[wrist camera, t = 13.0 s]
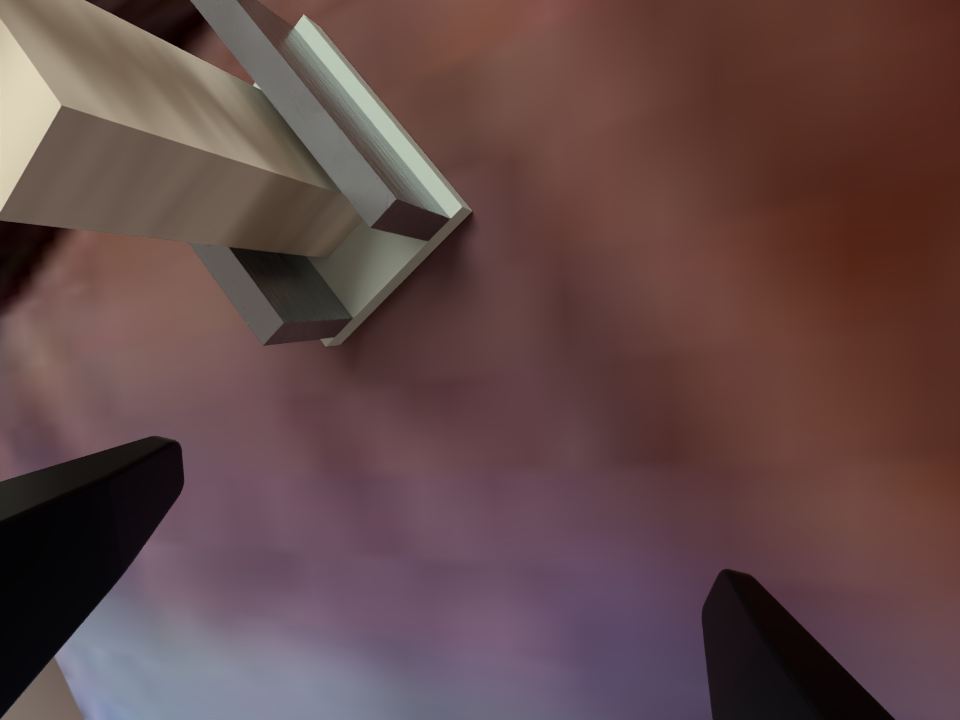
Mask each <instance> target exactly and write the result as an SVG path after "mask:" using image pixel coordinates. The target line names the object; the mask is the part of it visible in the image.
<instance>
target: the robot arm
mask: <svg viewBox="0 0 960 720" xmlns="http://www.w3.org/2000/svg"><path fill="white" fill-rule="evenodd" d="M183 485H184V470H183V459H182V449H181V445H180V444H179V442H177V441H175V440H172V439H168V438H163V437H159V436H151V437H147V438H144V439H141V440H137V441H134V442H131V443H127V444H124V445H121V446H117V447H114V448H111V449H108V450H104V451H101V452H98V453H94V454H91V455H88V456H84V457H81V458H78V459H74V460H71V461H68V462H64V463H61V464H58V465H54V466H51V467H48V468H44V469H41V470H38V471H35V472H31V473H28V474H25V475H21V476H18V477H15V478H11V479H8V480H5V481H1V482H0V719H1V718H2V717H3V715H4V714H5V713H6V712H7V711H8V710H9V708H10V707H11V706H12V705H13V704H14V703H15V701H16V700H17V699H18V698H19V697H20V696H21V694H22V693H23V692H24V691H25V690H26V689H27V687H28V686H29V685H30V684H31V683H32V681H33V680H34V679H35V678H36V677H37V675H38V674H39V673H40V672H41V671H42V670H43V669H44V667H45V666H46V665H47V664H48V663H49V662H50V660H51V659H52V658H53V657H54V656H55V654H56V653H57V652H58V651H59V650H60V649H61V647H62V646H63V645H64V644H65V643H66V642H67V640H68V639H69V638H70V637H71V636H72V635H73V633H74V632H75V631H76V630H77V629H78V627H79V626H80V625H81V624H82V623H83V622H84V620H85V619H86V618H87V617H88V616H89V615H90V613H91V612H92V611H93V610H94V609H95V608H96V606H97V605H98V604H99V603H100V602H101V600H102V599H103V598H104V597H105V596H106V595H107V593H108V592H109V591H110V590H111V589H112V588H113V586H114V585H115V584H116V583H117V581H118V580H119V579H120V578H121V577H122V575H123V574H124V573H125V571H126V570H127V569H128V567H129V566H130V565H131V563H132V562H133V561H134V559H135V558H136V556H137V555H138V554H139V552H140V551H141V549H142V548H143V546H144V545H145V544H146V542H147V541H148V539H149V538H150V536H151V535H152V534H153V532H154V531H155V529H156V528H157V527H158V525H159V524H160V522H161V521H162V519H163V518H164V517H165V515H166V514H167V512H168V511H169V509H170V508H171V507H172V505H173V504H174V502H175V501H176V499H177V498H178V497H179V495H180V493H181V491H182V489H183ZM702 628H703V637H704V646H705V656H706V665H707V674H708V684H709V693H710V702H711V710H712V718H713V720H895V719H894V718H893V717H892V716H891V715H890V714H889V713H888V712H887V711H886V710H885V709H884V708H883V707H882V706H881V705H880V704H879V703H878V702H877V701H876V700H875V699H874V698H873V697H872V696H871V695H870V694H869V693H868V692H867V691H866V690H865V689H864V688H863V687H862V686H861V685H860V684H859V683H858V682H857V681H856V680H855V679H854V678H853V677H852V676H851V675H850V674H849V673H848V672H847V671H846V670H845V669H844V668H843V667H842V666H841V665H840V664H839V663H838V662H837V661H836V660H835V659H834V657H833V656H832V655H831V654H830V653H829V652H828V651H827V650H826V649H825V648H824V647H823V646H822V645H821V644H820V643H819V642H818V641H817V640H816V639H815V638H814V637H813V636H812V635H811V634H810V633H809V632H808V631H807V630H806V629H805V628H804V627H803V626H802V625H801V624H800V623H799V622H798V621H797V620H796V619H795V618H794V617H793V616H792V615H791V614H790V613H789V612H788V611H787V610H786V609H785V608H784V607H783V606H782V605H781V604H780V603H779V602H778V601H777V600H776V599H775V598H774V597H773V596H772V595H771V594H770V593H769V592H768V591H767V590H766V589H765V588H764V587H763V586H762V585H761V584H760V583H759V582H758V581H757V580H756V579H755V578H754V577H753V576H751V575H749V574H747V573H743V572H739V571H734V570H730V569H724V570H722V571H721V572H720V573H719V574H718V576H717V578H716V580H715V582H714V584H713V586H712V588H711V590H710V592H709V594H708V596H707V599H706V601H705V603H704V605H703V609H702Z"/></svg>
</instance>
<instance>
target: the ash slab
mask: <svg viewBox="0 0 960 720" xmlns="http://www.w3.org/2000/svg"><path fill="white" fill-rule="evenodd" d="M0 220H2V221H11V222H19V223H28V224H36V225H45V226H54V227H62V228H71V229H79V230H88V231H96V232H105V233H114V234H122V235H131V236H139V237H148V238H156V239H165V240H174V241H182V242H191V243H199V244H208V245H216V246H225V247H234V248H242V249H251V250H259V251H268V252H276V253H285V254H294V255H302V256H311V257H319V258H328V257H329V256H330V255H331V254H332V253H333V252H334V251H335V250H336V249H337V248H338V246H339V245H340V244H341V243H342V242H343V241H344V240H345V239H346V238H347V237H348V235H349V234H350V233H351V232H352V231H353V230H354V229H355V228H356V227H357V226H358V224H359V223H360V222H361V221H362V220H363V218H362V217H361V216H360V214H359V213H358V212H357V211H356V209H355V208H354V207H353V206H352V204H351V203H350V202H349V200H348V199H347V198H346V197H345V195H344V194H343V193H342V192H341V190H340V189H339V188H338V187H337V185H336V184H335V183H334V181H333V180H332V179H331V178H330V176H329V175H328V174H327V173H326V171H325V170H324V169H323V168H322V166H321V165H320V164H319V162H318V161H317V160H316V159H315V157H314V156H313V155H312V154H311V152H310V151H309V150H308V148H307V147H306V146H305V145H304V143H303V142H302V141H301V140H300V138H299V137H298V136H297V135H296V133H295V132H294V131H293V129H292V128H291V127H290V126H289V124H288V123H287V122H286V121H285V119H284V118H283V117H282V115H281V114H280V113H279V112H278V110H277V109H276V108H275V107H274V105H273V104H272V103H271V102H270V100H269V99H268V98H267V96H266V95H265V94H264V93H263V91H262V90H260V89H258V88H256V87H254V86H252V85H250V84H248V83H246V82H245V81H243V80H241V79H239V78H237V77H235V76H233V75H231V74H229V73H227V72H225V71H223V70H221V69H219V68H217V67H215V66H213V65H211V64H209V63H207V62H205V61H203V60H201V59H199V58H197V57H195V56H193V55H191V54H189V53H187V52H185V51H183V50H182V49H180V48H178V47H176V46H174V45H172V44H170V43H168V42H166V41H164V40H162V39H160V38H158V37H156V36H154V35H152V34H150V33H148V32H146V31H144V30H142V29H140V28H138V27H136V26H134V25H132V24H130V23H128V22H126V21H124V20H122V19H120V18H118V17H117V16H115V15H113V14H111V13H109V12H107V11H105V10H103V9H101V8H99V7H97V6H95V5H93V4H91V3H89V2H87V1H85V0H0Z"/></svg>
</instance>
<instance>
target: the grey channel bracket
mask: <svg viewBox="0 0 960 720" xmlns="http://www.w3.org/2000/svg"><path fill="white" fill-rule="evenodd" d="M191 1H192V3H193V4H194V5H195V6H196V8H197V9H198V10H199V11H200V13H201V14H202V15H203V17H204V18H205V19H206V20H207V22H208V23H209V24H210V25H211V27H212V28H213V29H214V30H215V32H216V33H217V34H218V36H219V37H220V38H221V39H222V41H223V42H224V43H225V44H226V46H227V47H228V48H229V49H230V51H231V52H232V53H233V55H234V56H235V57H236V58H237V60H238V61H239V62H240V63H241V65H242V66H243V67H244V69H245V70H246V71H247V72H248V74H249V75H250V76H251V77H252V79H253V80H254V81H255V84H254V85H253V86H254V87H256V88H258V89H260V90H262V91H263V93H264V94H265V95H266V96H267V98H268V99H269V100H270V102H271V103H272V104H273V105H274V107H275V108H276V109H277V110H278V112H279V113H280V114H281V115H282V117H283V118H284V119H285V121H286V122H287V123H288V124H289V126H290V127H291V128H292V129H293V131H294V132H295V133H296V135H297V136H298V137H299V138H300V140H301V141H302V142H303V143H304V145H305V146H306V147H307V148H308V150H309V151H310V152H311V154H312V155H313V156H314V157H315V159H316V160H317V161H318V162H319V164H320V165H321V166H322V168H323V169H324V170H325V171H326V173H327V174H328V175H329V176H330V178H331V179H332V180H333V181H334V183H335V184H336V185H337V187H338V188H339V189H340V190H341V192H342V193H343V194H344V195H345V197H346V198H347V199H348V200H349V202H350V203H351V204H352V206H353V207H354V208H355V209H356V211H357V212H358V213H359V214H360V216H361V217H362V218H363V220H362V221H361V222H360V223H359V224H358V226H357V227H356V228H355V229H354V230H353V231H352V232H351V233H350V234H349V235H348V237H347V238H346V239H345V240H344V241H343V242H342V243H341V244H340V245H339V246H338V248H337V249H336V250H335V251H334V252H333V253H332V254H331V255H330V256H329V257H328V258H319V257H311V256H302V255H294V254H285V253H276V252H268V251H259V250H251V249H242V248H234V247H225V246H216V245H208V244H199V243H191V242H188V243H189V244H190V246H191V247H192V248H193V250H194V251H195V252H196V254H197V255H198V257H199V258H200V259H201V261H202V262H203V264H204V265H205V266H206V268H207V269H208V270H209V272H210V273H211V275H212V276H213V277H214V279H215V280H216V282H217V283H218V284H219V286H220V287H221V288H222V290H223V291H224V293H225V294H226V295H227V297H228V298H229V300H230V301H231V302H232V304H233V305H234V307H235V308H236V309H237V311H238V312H239V313H240V315H241V316H242V318H243V319H244V320H245V322H246V323H247V325H248V326H249V327H250V329H251V330H252V331H253V333H254V334H255V336H256V337H257V338H258V340H259V341H260V343H261V344H262V345H263V346H265V345H274V344H282V343H291V342H300V341H308V340H317V339H320V340H321V341H322V342H323V344H324V345H325V346H326V347H327V346H335V345H340V344H341V343H342V342H343V341H344V340H345V339H346V338H347V337H348V336H349V335H350V334H351V333H352V332H353V331H354V330H355V329H356V328H357V327H358V326H359V325H360V324H361V323H362V322H363V321H364V320H365V319H366V318H367V317H368V316H369V315H370V314H371V313H372V312H373V311H374V310H375V309H376V308H377V307H378V306H379V305H380V304H381V303H382V302H383V301H384V300H385V299H386V298H387V297H388V296H389V295H390V294H391V293H392V292H393V291H394V290H395V289H396V288H397V287H398V286H399V285H400V284H401V283H402V282H403V281H404V280H405V279H406V278H407V277H408V276H409V275H410V274H411V273H412V272H413V271H414V270H415V269H416V268H417V267H418V266H419V264H420V263H421V262H422V261H423V260H424V259H425V258H426V257H427V256H428V255H429V254H430V253H431V252H432V251H433V250H434V249H435V248H436V247H437V246H438V245H439V244H440V243H441V242H442V241H443V240H444V239H445V238H446V237H447V236H448V235H449V234H450V233H451V232H452V231H453V230H454V229H455V228H456V227H457V226H458V225H459V224H460V223H461V222H462V221H463V220H464V219H465V218H466V217H467V216H468V215H469V214H470V213H471V212H472V210H471V209H470V208H469V206H468V205H467V204H466V203H465V202H464V200H463V199H462V198H461V197H460V196H459V194H458V193H457V192H456V191H455V190H454V188H453V187H452V186H451V185H450V183H449V182H448V181H447V180H446V179H445V177H444V176H443V175H442V174H441V173H440V171H439V170H438V169H437V168H436V167H435V165H434V164H433V163H432V162H431V161H430V159H429V158H428V157H427V156H426V154H425V153H424V152H423V151H422V150H421V148H420V147H419V146H418V145H417V144H416V142H415V141H414V140H413V139H412V138H411V136H410V135H409V134H408V133H407V132H406V130H405V129H404V128H403V127H402V126H401V124H400V123H399V122H398V121H397V119H396V118H395V117H394V116H393V115H392V113H391V112H390V111H389V110H388V109H387V107H386V106H385V105H384V104H383V103H382V101H381V100H380V99H379V98H378V97H377V95H376V94H375V93H374V92H373V91H372V89H371V88H370V87H369V86H368V84H367V83H366V82H365V81H364V80H363V78H362V77H361V76H360V75H359V74H358V72H357V71H356V70H355V69H354V68H353V66H352V65H351V64H350V63H349V62H348V60H347V59H346V58H345V57H344V55H343V54H342V53H341V52H340V51H339V49H338V48H337V47H336V46H335V45H334V43H333V42H332V41H331V40H330V39H329V37H328V36H327V35H326V34H325V33H324V31H323V30H322V29H321V28H320V27H319V26H318V25H317V24H315V23H314V22H313V21H311V20H310V19H309V18H308V17H306V16H305V15H303V16H302V18H301V19H300V20H299V22H298V23H297V25H296V26H295V27H293V26H292V25H290V24H289V23H287V22H286V21H285V20H283V19H282V18H280V17H279V16H278V15H276V14H275V13H273V12H272V11H271V10H269V9H268V8H267V7H265V6H264V5H262V4H261V3H260V2H258V1H257V0H191Z"/></svg>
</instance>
